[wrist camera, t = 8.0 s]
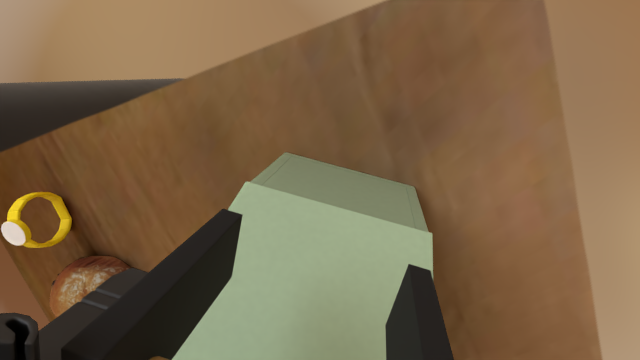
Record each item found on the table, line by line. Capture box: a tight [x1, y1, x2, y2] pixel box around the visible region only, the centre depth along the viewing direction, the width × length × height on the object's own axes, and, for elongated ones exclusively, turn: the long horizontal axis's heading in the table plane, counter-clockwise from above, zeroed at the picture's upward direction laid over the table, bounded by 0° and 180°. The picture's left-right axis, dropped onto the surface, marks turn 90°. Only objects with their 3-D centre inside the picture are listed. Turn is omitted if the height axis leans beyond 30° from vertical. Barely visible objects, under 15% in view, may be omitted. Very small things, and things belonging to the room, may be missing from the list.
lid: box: [149, 181, 433, 360], centre depth 14 cm, size 17×13×8 cm
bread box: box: [251, 152, 428, 232], centre depth 30 cm, size 16×13×10 cm
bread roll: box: [49, 256, 131, 318], centre depth 40 cm, size 10×10×8 cm
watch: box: [1, 192, 72, 248], centre depth 37 cm, size 6×3×6 cm, turn 11°
